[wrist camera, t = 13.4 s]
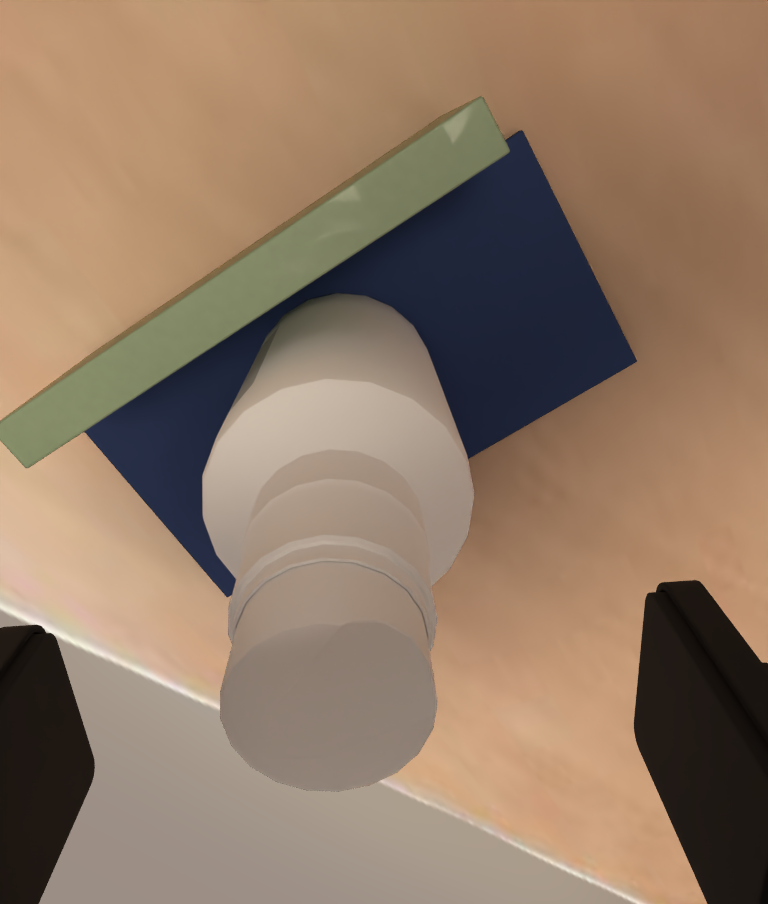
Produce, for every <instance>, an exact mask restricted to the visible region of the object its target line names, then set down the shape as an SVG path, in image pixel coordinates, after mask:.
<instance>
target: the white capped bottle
mask: <svg viewBox="0 0 768 904" xmlns="http://www.w3.org/2000/svg"><path fill="white" fill-rule="evenodd" d="M474 494H475V493H474V488H473V483H472V478H471V473H470V467H469V462H468V457H467V454H466V451H465V448H464V446H463V443H462V440H461V438H460V435H459V432H458V430H457V427H456V424H455V422H454V419H453V416H452V414H451V411H450V408H449V406H448V403H447V400H446V398H445V395H444V392H443V390H442V387H441V384H440V382H439V379H438V376H437V374H436V371H435V369H434V366H433V363H432V361H431V358H430V355H429V353H428V350H427V348H426V346H425V345H424V343H423V341H422V339H421V338H420V336H419V334H418V333H417V331H416V329H415V327H414V326H413V325H412V324H411V323H410V322H409V321H408V320H406V319H405V318H404V317H403V316H402V315H401V314H400V313H398V312H397V311H396V310H395V309H394V308H393V307H391V306H389V305H386V304H384V303H382V302H379V301H377V300H375V299H372V298H370V297H368V296H364V295H352V294H341V293H335V294H331V295H327V296H322V297H318V298H314V299H310V300H307V301H306V302H304V303H302V304H301V305H299V306H298V307H296V308H294V309H293V310H291V311H289V312H288V313H286V314H285V315H284V316H283V317H282V318H281V319H280V321H279V322H278V323H277V324H276V325H275V327H274V328H273V329H272V330H271V331H270V333H269V334H268V335H267V336H266V338H265V340H264V342H263V344H262V346H261V348H260V350H259V352H258V354H257V356H256V358H255V360H254V362H253V364H252V366H251V368H250V370H249V372H248V374H247V376H246V379H245V381H244V383H243V385H242V387H241V389H240V391H239V393H238V395H237V397H236V399H235V401H234V403H233V405H232V407H231V409H230V411H229V413H228V415H227V417H226V419H225V421H224V423H223V425H222V427H221V429H220V431H219V433H218V435H217V437H216V439H215V442H214V445H213V447H212V450H211V453H210V456H209V458H208V461H207V464H206V467H205V469H204V472H203V475H202V497H203V520H204V523H205V525H206V528H207V531H208V533H209V536H210V539H211V542H212V544H213V547H214V550H215V552H216V555H217V556H218V557H219V559H220V560H221V561H222V562H223V564H224V565H225V566H226V567H227V569H228V570H229V571H230V572H231V574H232V575H233V576H234V577H235V578H236V583H235V586H234V590H233V593H232V597H231V600H230V604H229V618H228V635H229V637H230V640H231V643H232V647H231V651H230V655H229V659H228V663H227V667H226V671H225V675H224V679H223V683H222V687H221V691H220V719H221V721H222V724H223V726H224V729H225V731H226V734H227V736H228V738H229V741H230V744H231V746H232V747H233V748H234V749H235V750H236V751H237V752H238V753H239V754H240V756H241V757H242V758H243V759H244V760H245V761H246V762H247V763H248V764H249V765H250V766H251V767H252V768H254V769H256V770H257V771H259V772H261V773H262V774H264V775H266V776H267V777H269V778H271V779H272V780H274V781H276V782H279V783H282V784H286V785H289V786H293V787H296V788H300V789H303V790H310V791H338V792H339V791H344V790H349V789H354V788H359V787H364V786H369V785H371V784H374V783H376V782H378V781H380V780H382V779H384V778H386V777H388V776H391V775H393V774H395V773H397V772H398V771H399V770H400V769H401V768H403V767H404V766H405V765H406V764H407V763H408V762H410V761H411V760H412V759H413V758H414V757H415V756H416V755H418V754H419V752H420V750H421V749H422V747H423V745H424V743H425V742H426V740H427V738H428V737H429V735H430V733H431V731H432V730H433V727H434V721H435V716H436V710H437V695H436V689H435V682H434V675H433V669H432V662H431V656H430V651H431V649H432V647H433V645H434V638H435V631H436V624H437V614H436V608H435V602H434V597H433V591H432V586H433V585H434V584H435V583H436V582H437V581H438V580H439V579H440V578H441V577H442V576H443V575H444V574H445V573H446V572H447V571H448V570H449V569H450V568H451V566H452V564H453V562H454V560H455V559H456V557H457V555H458V553H459V551H460V549H461V547H462V546H463V544H464V542H465V540H466V538H467V536H468V532H469V526H470V520H471V513H472V507H473V501H474Z"/></svg>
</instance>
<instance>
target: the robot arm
mask: <svg viewBox="0 0 768 904" xmlns="http://www.w3.org/2000/svg"><path fill="white" fill-rule="evenodd" d="M634 732H635V738H636V742H637V745H638V748H639V750H640V753H641V755H642V757H643V759H644V762H645V764H646V766H647V768H648V771H649V773H650V775H651V777H652V780H653V782H654V784H655V786H656V789H657V791H658V793H659V795H660V798H661V800H662V802H663V804H664V807H665V809H666V811H667V813H668V816H669V818H670V820H671V822H672V825H673V827H674V829H675V832H676V834H677V836H678V838H679V841H680V843H681V845H682V847H683V850H684V852H685V854H686V856H687V859H688V861H689V863H690V865H691V868H692V870H693V872H694V874H695V877H696V879H697V881H698V883H699V886H700V888H701V890H702V892H703V895H704V897H705V899H706V901H707V904H768V663H762V662H761V661H760V660H759V658H758V657H757V656H756V654H755V653H754V652H753V650H752V649H751V648H750V646H749V645H748V644H747V642H746V641H745V640H744V638H743V637H742V636H741V635H740V633H739V632H738V631H737V629H736V628H735V627H734V625H733V624H732V623H731V621H730V620H729V619H728V617H727V616H726V615H725V613H724V612H723V611H722V609H721V608H720V607H719V605H718V604H717V603H716V601H715V600H714V599H713V597H712V596H711V595H710V593H709V592H708V591H707V590H706V588H705V587H704V586H703V584H702V583H701V582H700V581H696V580H692V581H677V582H663V583H660V584H659V585H658V587H657V590H656V592H654V593H648V594H647V596H646V600H645V609H644V620H643V631H642V641H641V652H640V663H639V674H638V684H637V695H636V706H635V717H634ZM94 768H95V767H94V757H93V754H92V751H91V747H90V744H89V741H88V738H87V735H86V731H85V728H84V725H83V722H82V719H81V716H80V712H79V709H78V706H77V703H76V699H75V696H74V694H73V690H72V687H71V684H70V680H69V677H68V674H67V671H66V668H65V664H64V661H63V658H62V655H61V652H60V648H59V645H58V643H57V640H56V637H55V636H54V635H53V634H51V633H46V632H45V630H44V629H43V628H42V626H39V625H26V626H12V627H3V628H0V904H39V902H40V899H41V897H42V895H43V893H44V890H45V888H46V886H47V883H48V881H49V879H50V877H51V874H52V872H53V869H54V867H55V865H56V863H57V860H58V858H59V856H60V854H61V851H62V849H63V847H64V845H65V843H66V840H67V838H68V836H69V833H70V831H71V829H72V827H73V824H74V822H75V820H76V818H77V815H78V813H79V811H80V808H81V806H82V804H83V802H84V799H85V797H86V795H87V793H88V790H89V788H90V786H91V783H92V780H93V776H94Z"/></svg>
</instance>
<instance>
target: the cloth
mask: <svg viewBox="0 0 768 904" xmlns="http://www.w3.org/2000/svg"><path fill="white" fill-rule="evenodd" d="M505 141H506V143H507V145H508V147H509V149H510V152H509V153H508V154H507V155H505V156H504V157H502V158H501V159H499V160H498V161H496V162H495V163H493V164H491V165H490V166H488V167H487V168H485V169H484V170H482V171H481V172H479V173H478V174H476V175H475V176H473V177H472V178H470V179H469V180H467V181H466V182H464V183H462V184H461V185H459V186H458V187H456V188H455V189H453V190H452V191H450V192H449V193H447V194H446V195H444V196H443V197H441V198H440V199H438V200H437V201H435V202H433V203H432V204H430V205H429V206H427V207H426V208H424V209H423V210H421V211H420V212H418V213H417V214H415V215H414V216H412V217H411V218H409V219H408V220H406V221H404V222H403V223H401V224H400V225H398V226H397V227H395V228H394V229H392V230H391V231H389V232H388V233H386V234H385V235H383V236H382V237H380V238H379V239H377V240H375V241H374V242H372V243H371V244H369V245H368V246H366V247H365V248H363V249H362V250H360V251H359V252H357V253H356V254H354V255H353V256H351V257H350V258H348V259H347V260H345V261H343V262H342V263H340V264H339V265H337V266H336V267H334V268H333V269H331V270H330V271H328V272H327V273H325V274H324V275H322V276H321V277H319V278H318V279H316V280H314V281H313V282H311V283H310V284H308V285H307V286H305V287H304V288H302V289H301V290H299V291H298V292H296V293H295V294H293V295H292V296H290V297H289V298H287V299H285V300H284V301H282V302H281V303H279V304H278V305H276V306H275V307H273V308H272V309H270V310H269V311H267V312H266V313H264V314H263V315H261V316H260V317H258V318H256V319H255V320H253V321H252V322H250V323H249V324H247V325H246V326H244V327H243V328H241V329H240V330H238V331H237V332H235V333H234V334H232V335H231V336H229V337H227V338H226V339H224V340H223V341H221V342H220V343H218V344H217V345H215V346H214V347H212V348H211V349H209V350H208V351H206V352H205V353H203V354H202V355H200V356H199V357H197V358H195V359H194V360H192V361H191V362H189V363H188V364H186V365H185V366H183V367H182V368H180V369H179V370H177V371H176V372H174V373H173V374H171V375H170V376H168V377H166V378H165V379H163V380H162V381H160V382H159V383H157V384H156V385H154V386H153V387H151V388H150V389H148V390H147V391H145V392H144V393H142V394H141V395H139V396H137V397H136V398H134V399H133V400H131V401H130V402H128V403H127V404H125V405H124V406H122V407H121V408H119V409H118V410H116V411H115V412H113V413H112V414H110V415H108V416H107V417H105V418H104V419H102V420H101V421H99V422H98V423H96V424H95V425H93V426H92V427H90V428H89V429H87V430H86V431H84V432H85V433H86V434H87V435H88V436H89V437H90V439H91V440H92V441H93V442H94V443H95V444H96V446H97V447H98V448H99V449H100V450H101V451H102V453H103V454H104V455H105V456H106V457H107V458H108V460H109V461H110V462H111V463H112V464H113V465H114V466H115V468H116V469H117V470H118V471H119V472H120V473H121V475H122V476H123V477H124V478H125V479H126V480H127V482H128V483H129V484H130V485H131V486H132V487H133V489H134V490H135V491H136V492H137V493H138V494H139V496H140V497H141V498H142V499H143V500H144V501H145V503H146V504H147V505H148V506H149V507H150V508H151V509H152V511H153V512H154V513H155V514H156V515H157V516H158V518H159V519H160V520H161V521H162V522H163V523H164V525H165V526H166V527H167V528H168V529H169V530H170V532H171V533H172V534H173V535H174V536H175V537H176V539H177V540H178V541H179V542H180V543H181V544H182V546H183V547H184V548H185V549H186V550H187V551H188V552H189V554H190V555H191V556H192V557H193V558H194V559H195V561H196V562H197V563H198V564H199V565H200V566H201V568H202V569H203V570H204V571H205V572H206V573H207V575H208V576H209V577H210V578H211V579H212V580H213V582H214V583H215V584H216V585H217V586H218V587H219V589H220V590H221V591H222V592H223V593H224V594H225V595H226V597H229V596H231V595H232V593H233V590H234V586H235V583H236V578H235V577H234V576H233V575H232V574H231V572H230V571H229V570H228V569H227V567H226V566H225V565H224V564H223V562H222V561H221V560H220V559H219V557H218V556H217V555H216V552H215V550H214V547H213V544H212V542H211V539H210V536H209V533H208V531H207V528H206V525H205V523H204V520H203V497H202V475H203V472H204V469H205V467H206V464H207V461H208V458H209V456H210V453H211V450H212V447H213V445H214V442H215V439H216V437H217V435H218V433H219V431H220V429H221V427H222V425H223V423H224V421H225V419H226V417H227V415H228V413H229V411H230V409H231V407H232V405H233V403H234V401H235V399H236V397H237V395H238V393H239V391H240V389H241V387H242V385H243V383H244V381H245V379H246V376H247V374H248V372H249V370H250V368H251V366H252V364H253V362H254V360H255V358H256V356H257V354H258V352H259V350H260V348H261V346H262V344H263V342H264V340H265V338H266V336H267V335H268V334H269V333H270V331H271V330H272V329H273V328H274V327H275V325H276V324H277V323H278V322H279V321H280V319H281V318H282V317H283V316H284V315H285V314H286V313H288V312H289V311H291V310H293V309H294V308H296V307H298V306H299V305H301V304H302V303H304V302H306V301H307V300H310V299H314V298H318V297H322V296H327V295H331V294H335V293H341V294H352V295H364V296H368V297H370V298H372V299H375V300H377V301H379V302H382V303H384V304H386V305H389V306H391V307H393V308H394V309H395V310H396V311H397V312H398V313H400V314H401V315H402V316H403V317H404V318H405V319H406V320H408V321H409V322H410V323H411V324H412V325H413V326H414V327H415V329H416V331H417V333H418V334H419V336H420V338H421V339H422V341H423V343H424V345H425V346H426V348H427V350H428V353H429V355H430V358H431V361H432V363H433V366H434V369H435V371H436V374H437V376H438V379H439V382H440V384H441V387H442V390H443V392H444V395H445V398H446V400H447V403H448V406H449V408H450V411H451V414H452V416H453V419H454V422H455V424H456V427H457V430H458V432H459V435H460V438H461V440H462V443H463V446H464V448H465V451H466V454H467V457H468V459H469V458H470V457H472V456H474V455H476V454H477V453H479V452H481V451H482V450H484V449H486V448H488V447H489V446H491V445H493V444H495V443H496V442H498V441H500V440H502V439H503V438H505V437H507V436H509V435H510V434H512V433H514V432H516V431H517V430H519V429H521V428H522V427H524V426H526V425H528V424H529V423H531V422H533V421H535V420H536V419H538V418H540V417H542V416H543V415H545V414H547V413H549V412H550V411H552V410H554V409H555V408H557V407H559V406H561V405H562V404H564V403H566V402H568V401H569V400H571V399H573V398H575V397H576V396H578V395H580V394H582V393H583V392H585V391H587V390H588V389H590V388H592V387H594V386H595V385H597V384H599V383H601V382H602V381H604V380H606V379H608V378H609V377H611V376H613V375H615V374H616V373H618V372H620V371H621V370H623V369H625V368H627V367H628V366H630V365H632V364H634V363H635V362H637V360H636V358H635V356H634V354H633V352H632V350H631V348H630V346H629V344H628V342H627V340H626V338H625V336H624V334H623V332H622V330H621V328H620V326H619V324H618V322H617V320H616V318H615V316H614V314H613V312H612V310H611V308H610V306H609V304H608V302H607V300H606V298H605V296H604V294H603V292H602V290H601V288H600V286H599V284H598V282H597V280H596V278H595V276H594V274H593V272H592V270H591V268H590V266H589V264H588V261H587V259H586V257H585V255H584V253H583V251H582V249H581V247H580V245H579V243H578V241H577V239H576V237H575V235H574V233H573V231H572V229H571V227H570V225H569V223H568V221H567V219H566V217H565V215H564V213H563V211H562V209H561V207H560V205H559V203H558V201H557V199H556V197H555V195H554V193H553V191H552V189H551V187H550V185H549V183H548V181H547V179H546V177H545V175H544V173H543V171H542V169H541V167H540V165H539V163H538V161H537V159H536V157H535V155H534V153H533V151H532V149H531V147H530V145H529V143H528V141H527V139H526V137H525V135H524V133H523V131H518V132H517V133H515V134H514V135H512V136H511V137H509V138H508V139H506V140H505Z"/></svg>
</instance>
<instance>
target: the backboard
mask: <svg viewBox="0 0 768 904" xmlns="http://www.w3.org/2000/svg"><path fill="white" fill-rule="evenodd" d="M509 152H510V149H509V147H508V145H507V143H506V141H505V139H504V137H503V135H502V133H501V131H500V129H499V127H498V125H497V123H496V121H495V119H494V118H493V116H492V114H491V112H490V110H489V108H488V106H487V104H486V102H485V100H484V98H483V97H482V96H480V97H478V98H476V99H474V100H472V101H470V102H468V103H466V104H464V105H462V106H460V107H458V108H456V109H454V110H452V111H450V112H448V113H446V114H444V115H442V116H441V117H439V118H438V119H436V120H435V121H433V122H432V123H431V124H429V125H428V126H426V127H425V128H423V129H422V130H420V131H419V132H417V133H416V134H414V135H413V136H411V137H410V138H408V139H407V140H405V141H404V142H403V143H401V144H400V145H398V146H397V147H395V148H394V149H392V150H391V151H389V152H388V153H386V154H385V155H383V156H382V157H380V158H379V159H377V160H376V161H375V162H373V163H372V164H370V165H369V166H367V167H366V168H364V169H363V170H361V171H360V172H358V173H357V174H355V175H354V176H352V177H351V178H349V179H348V180H347V181H345V182H344V183H342V184H341V185H339V186H338V187H336V188H335V189H333V190H332V191H330V192H329V193H327V194H326V195H324V196H323V197H321V198H320V199H319V200H317V201H316V202H314V203H313V204H311V205H310V206H308V207H307V208H305V209H304V210H302V211H301V212H299V213H298V214H296V215H295V216H294V217H292V218H291V219H289V220H288V221H286V222H285V223H283V224H282V225H280V226H279V227H277V228H276V229H274V230H273V231H271V232H270V233H268V234H267V235H266V236H264V237H263V238H261V239H260V240H258V241H257V242H255V243H254V244H252V245H251V246H249V247H248V248H246V249H245V250H243V251H242V252H240V253H239V254H238V255H236V256H235V257H233V258H232V259H230V260H229V261H227V262H226V263H224V264H223V265H221V266H220V267H218V268H217V269H215V270H214V271H212V272H211V273H210V274H208V275H207V276H205V277H204V278H202V279H201V280H199V281H198V282H196V283H195V284H193V285H192V286H190V287H189V288H187V289H186V290H184V291H183V292H182V293H180V294H179V295H177V296H176V297H174V298H173V299H171V300H170V301H168V302H167V303H165V304H164V305H162V306H161V307H159V308H158V309H157V310H155V311H154V312H152V313H151V314H149V315H148V316H146V317H145V318H143V319H142V320H140V321H139V322H137V323H136V324H134V325H133V326H131V327H130V328H129V329H127V330H126V331H124V332H123V333H121V334H120V335H118V336H117V337H115V338H114V339H112V340H111V341H109V342H108V343H106V344H105V345H103V346H102V347H101V348H99V349H98V350H96V351H95V352H93V353H92V354H90V355H89V356H87V357H86V358H85V359H83V360H82V361H81V362H79V363H78V364H77V365H75V366H74V367H72V368H71V369H70V370H68V371H67V372H66V373H64V374H63V375H62V376H60V377H59V378H57V379H56V380H55V381H53V382H52V383H51V384H49V385H48V386H47V387H45V388H44V389H43V390H41V391H40V392H38V393H37V394H36V395H34V396H33V397H32V398H30V399H29V400H28V401H26V402H25V403H24V404H22V405H21V406H19V407H18V408H17V409H15V410H14V411H13V412H11V413H10V414H9V415H7V416H6V417H5V418H3V419H2V420H0V441H1V442H2V443H3V444H4V445H5V446H6V447H7V448H8V449H9V450H10V452H11V453H12V454H13V455H14V456H15V457H16V458H17V459H18V460H19V461H20V462H21V464H22V465H23V466H24V467H25V468H29V467H31V466H32V465H34V464H35V463H37V462H38V461H40V460H41V459H43V458H44V457H46V456H47V455H49V454H51V453H52V452H54V451H55V450H57V449H58V448H60V447H61V446H63V445H64V444H66V443H67V442H69V441H70V440H72V439H73V438H75V437H76V436H78V435H79V434H81V433H83V432H84V431H86V430H87V429H89V428H90V427H92V426H93V425H95V424H96V423H98V422H99V421H101V420H102V419H104V418H105V417H107V416H108V415H110V414H112V413H113V412H115V411H116V410H118V409H119V408H121V407H122V406H124V405H125V404H127V403H128V402H130V401H131V400H133V399H134V398H136V397H137V396H139V395H141V394H142V393H144V392H145V391H147V390H148V389H150V388H151V387H153V386H154V385H156V384H157V383H159V382H160V381H162V380H163V379H165V378H166V377H168V376H170V375H171V374H173V373H174V372H176V371H177V370H179V369H180V368H182V367H183V366H185V365H186V364H188V363H189V362H191V361H192V360H194V359H195V358H197V357H199V356H200V355H202V354H203V353H205V352H206V351H208V350H209V349H211V348H212V347H214V346H215V345H217V344H218V343H220V342H221V341H223V340H224V339H226V338H227V337H229V336H231V335H232V334H234V333H235V332H237V331H238V330H240V329H241V328H243V327H244V326H246V325H247V324H249V323H250V322H252V321H253V320H255V319H256V318H258V317H260V316H261V315H263V314H264V313H266V312H267V311H269V310H270V309H272V308H273V307H275V306H276V305H278V304H279V303H281V302H282V301H284V300H285V299H287V298H289V297H290V296H292V295H293V294H295V293H296V292H298V291H299V290H301V289H302V288H304V287H305V286H307V285H308V284H310V283H311V282H313V281H314V280H316V279H318V278H319V277H321V276H322V275H324V274H325V273H327V272H328V271H330V270H331V269H333V268H334V267H336V266H337V265H339V264H340V263H342V262H343V261H345V260H347V259H348V258H350V257H351V256H353V255H354V254H356V253H357V252H359V251H360V250H362V249H363V248H365V247H366V246H368V245H369V244H371V243H372V242H374V241H375V240H377V239H379V238H380V237H382V236H383V235H385V234H386V233H388V232H389V231H391V230H392V229H394V228H395V227H397V226H398V225H400V224H401V223H403V222H404V221H406V220H408V219H409V218H411V217H412V216H414V215H415V214H417V213H418V212H420V211H421V210H423V209H424V208H426V207H427V206H429V205H430V204H432V203H433V202H435V201H437V200H438V199H440V198H441V197H443V196H444V195H446V194H447V193H449V192H450V191H452V190H453V189H455V188H456V187H458V186H459V185H461V184H462V183H464V182H466V181H467V180H469V179H470V178H472V177H473V176H475V175H476V174H478V173H479V172H481V171H482V170H484V169H485V168H487V167H488V166H490V165H491V164H493V163H495V162H496V161H498V160H499V159H501V158H502V157H504V156H505V155H507V154H508V153H509Z"/></svg>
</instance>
